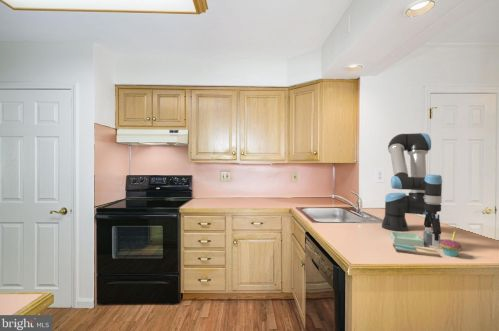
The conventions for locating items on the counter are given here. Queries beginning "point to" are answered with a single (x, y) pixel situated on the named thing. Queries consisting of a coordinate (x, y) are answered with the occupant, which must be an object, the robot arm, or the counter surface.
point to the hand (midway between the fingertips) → (431, 242)
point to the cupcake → (450, 247)
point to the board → (416, 250)
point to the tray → (406, 238)
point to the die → (429, 238)
